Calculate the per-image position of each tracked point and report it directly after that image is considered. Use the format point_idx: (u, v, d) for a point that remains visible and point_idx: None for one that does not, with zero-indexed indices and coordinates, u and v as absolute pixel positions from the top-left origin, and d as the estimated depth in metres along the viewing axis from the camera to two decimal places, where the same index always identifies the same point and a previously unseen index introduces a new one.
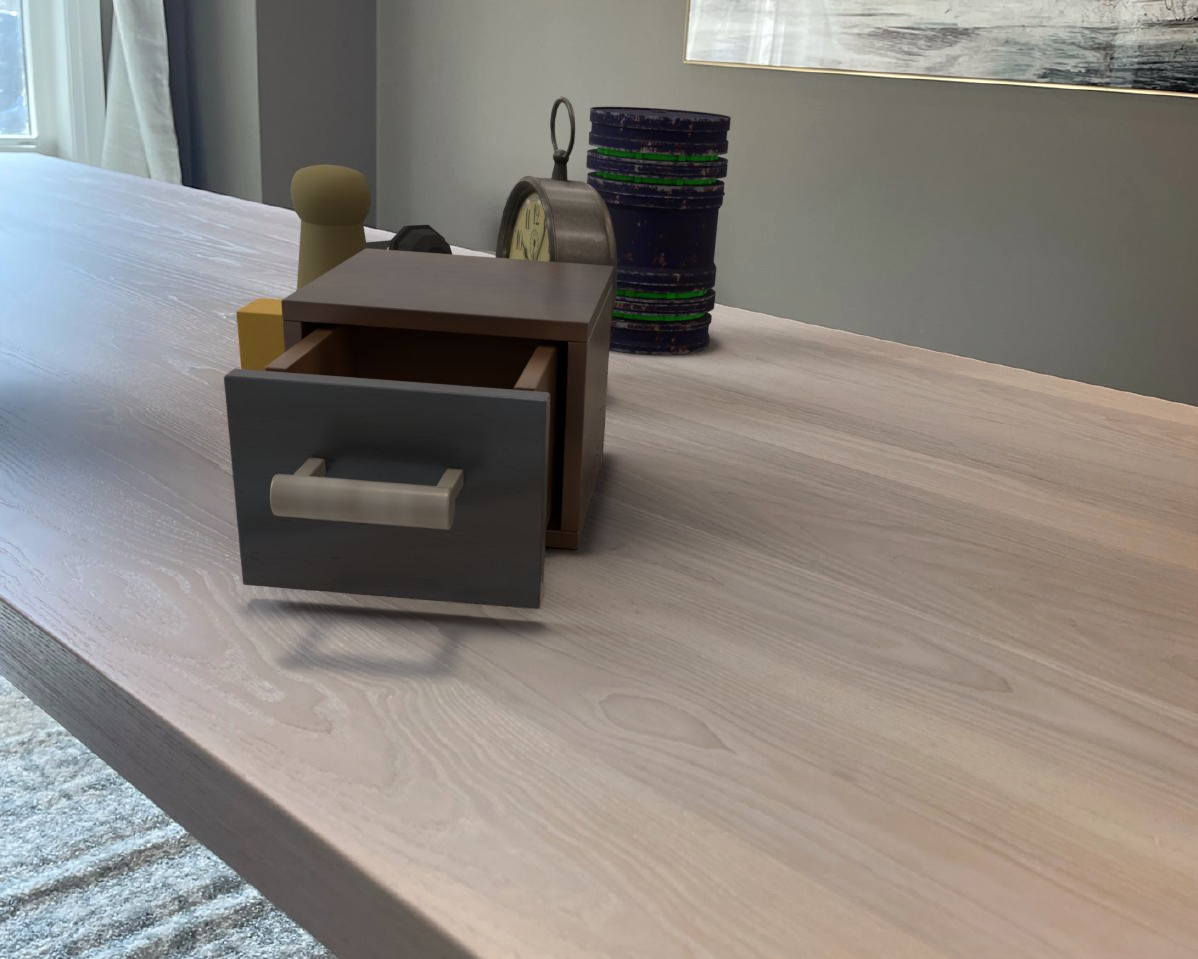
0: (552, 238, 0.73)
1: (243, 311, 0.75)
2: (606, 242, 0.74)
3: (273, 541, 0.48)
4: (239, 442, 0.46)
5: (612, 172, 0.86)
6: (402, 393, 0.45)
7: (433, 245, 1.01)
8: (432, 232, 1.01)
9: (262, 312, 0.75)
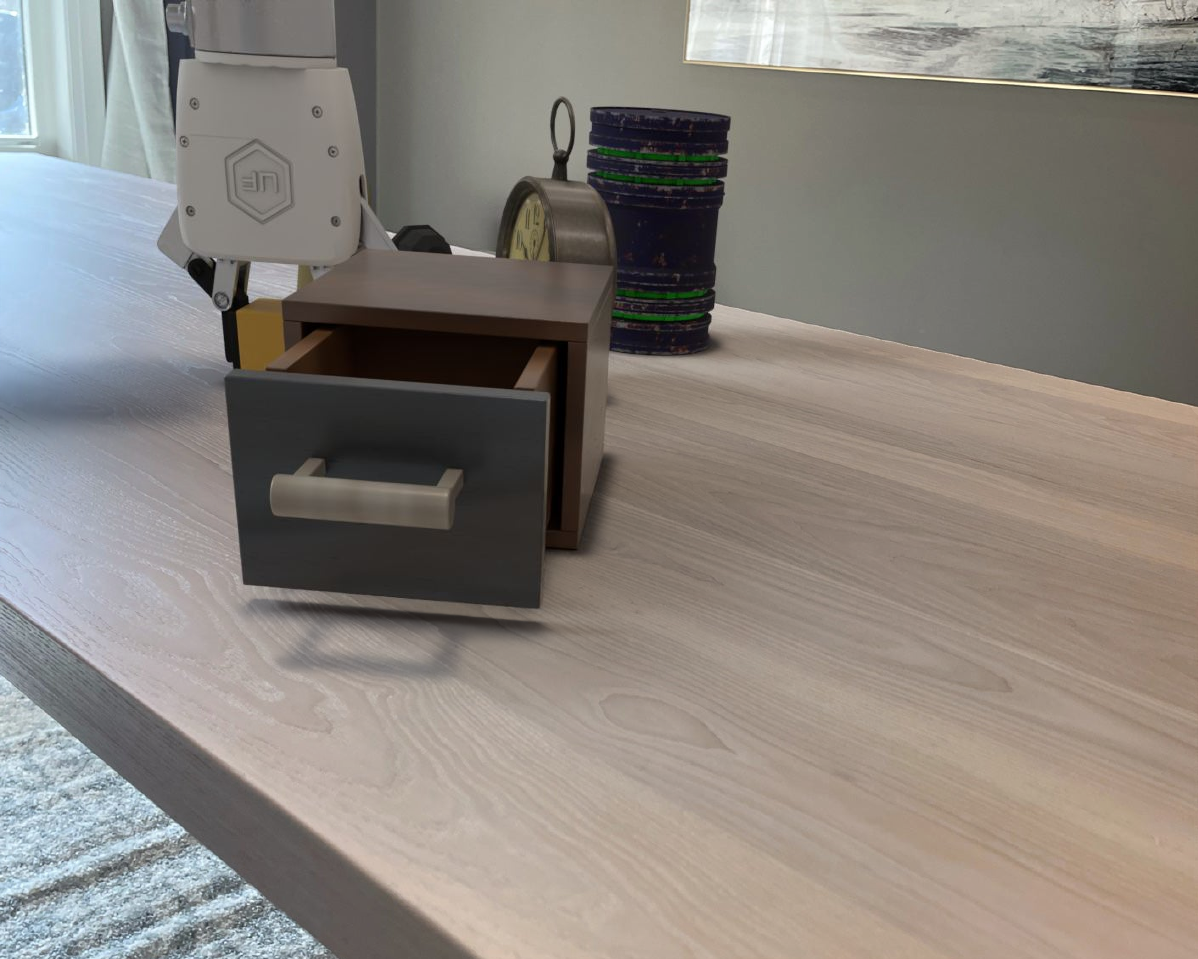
0: (552, 237, 0.73)
1: (243, 311, 0.75)
2: (606, 242, 0.74)
3: (273, 541, 0.48)
4: (239, 442, 0.46)
5: (612, 172, 0.86)
6: (402, 393, 0.45)
7: (433, 245, 1.01)
8: (432, 232, 1.01)
9: (262, 312, 0.75)
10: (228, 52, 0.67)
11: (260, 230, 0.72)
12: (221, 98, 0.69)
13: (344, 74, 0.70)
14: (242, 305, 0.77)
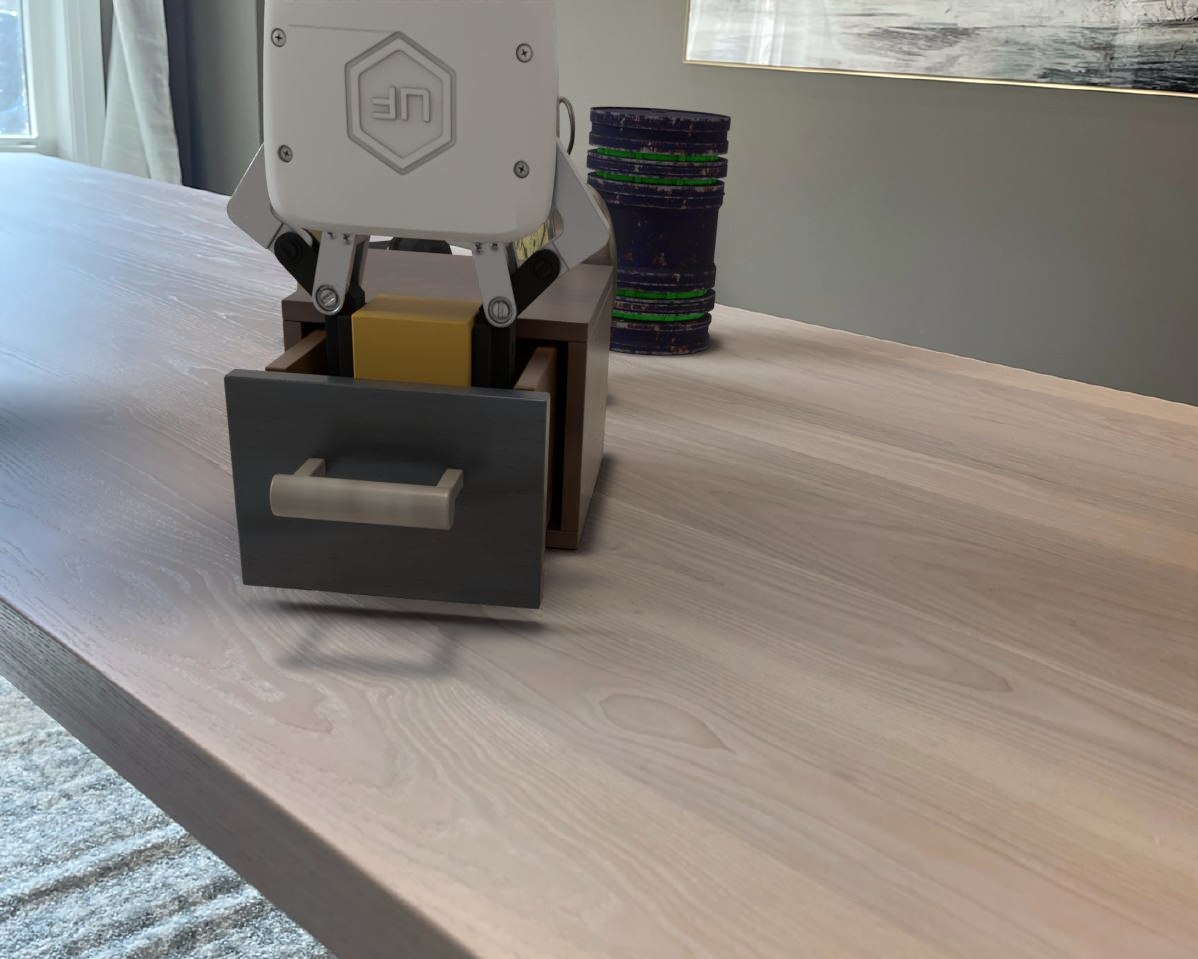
0: (552, 237, 0.73)
1: (363, 315, 0.48)
2: None
3: (273, 541, 0.48)
4: (239, 442, 0.46)
5: (612, 172, 0.86)
6: (402, 393, 0.45)
7: (433, 245, 1.01)
8: None
9: (393, 316, 0.48)
10: None
11: (398, 184, 0.45)
12: None
13: None
14: (357, 306, 0.49)
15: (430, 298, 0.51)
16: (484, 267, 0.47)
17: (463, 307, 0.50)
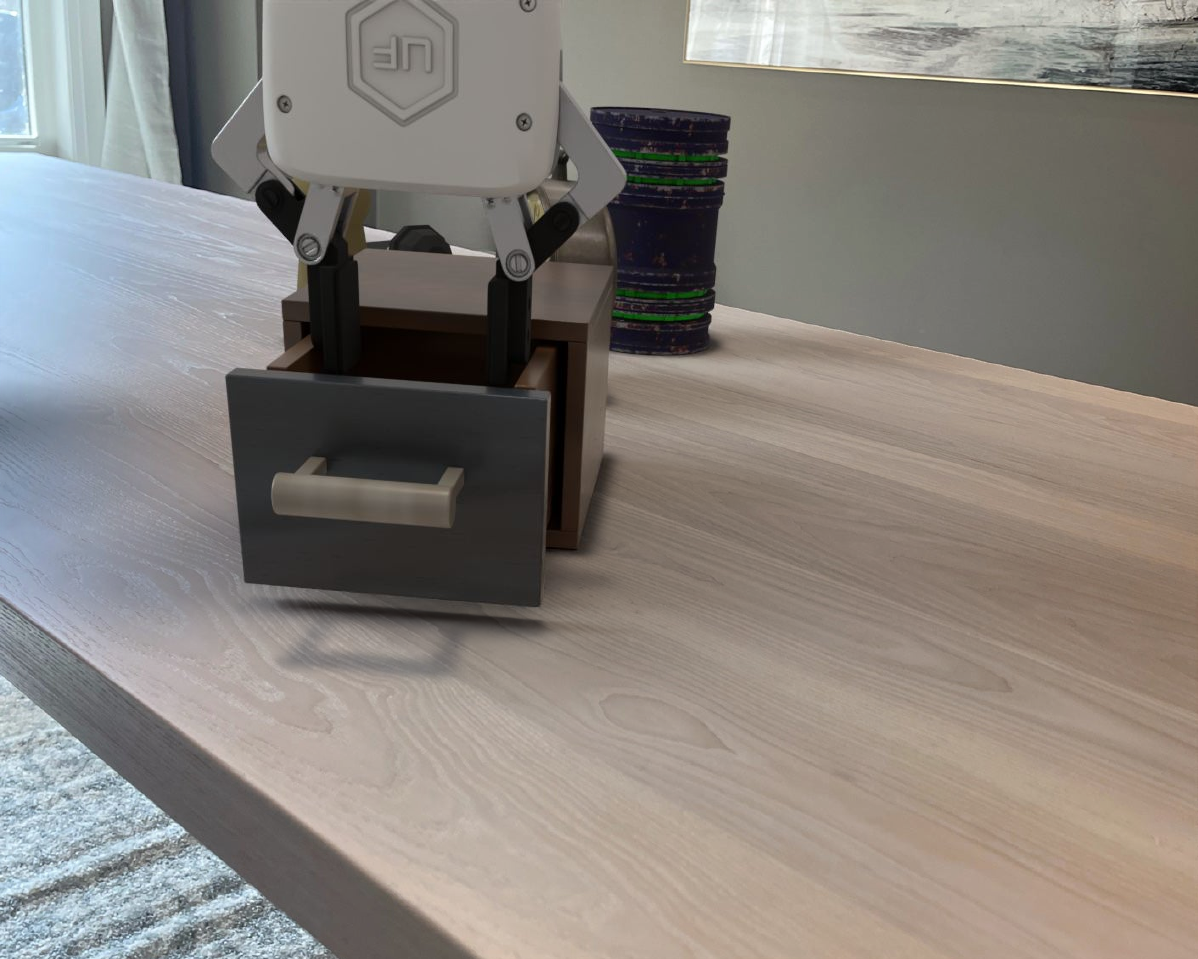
0: None
1: None
2: (606, 242, 0.74)
3: (274, 540, 0.48)
4: (240, 440, 0.46)
5: None
6: (403, 392, 0.45)
7: (433, 245, 1.01)
8: (432, 232, 1.01)
9: None
10: None
11: (398, 137, 0.44)
12: None
13: None
14: (340, 256, 0.49)
15: None
16: (498, 221, 0.47)
17: None
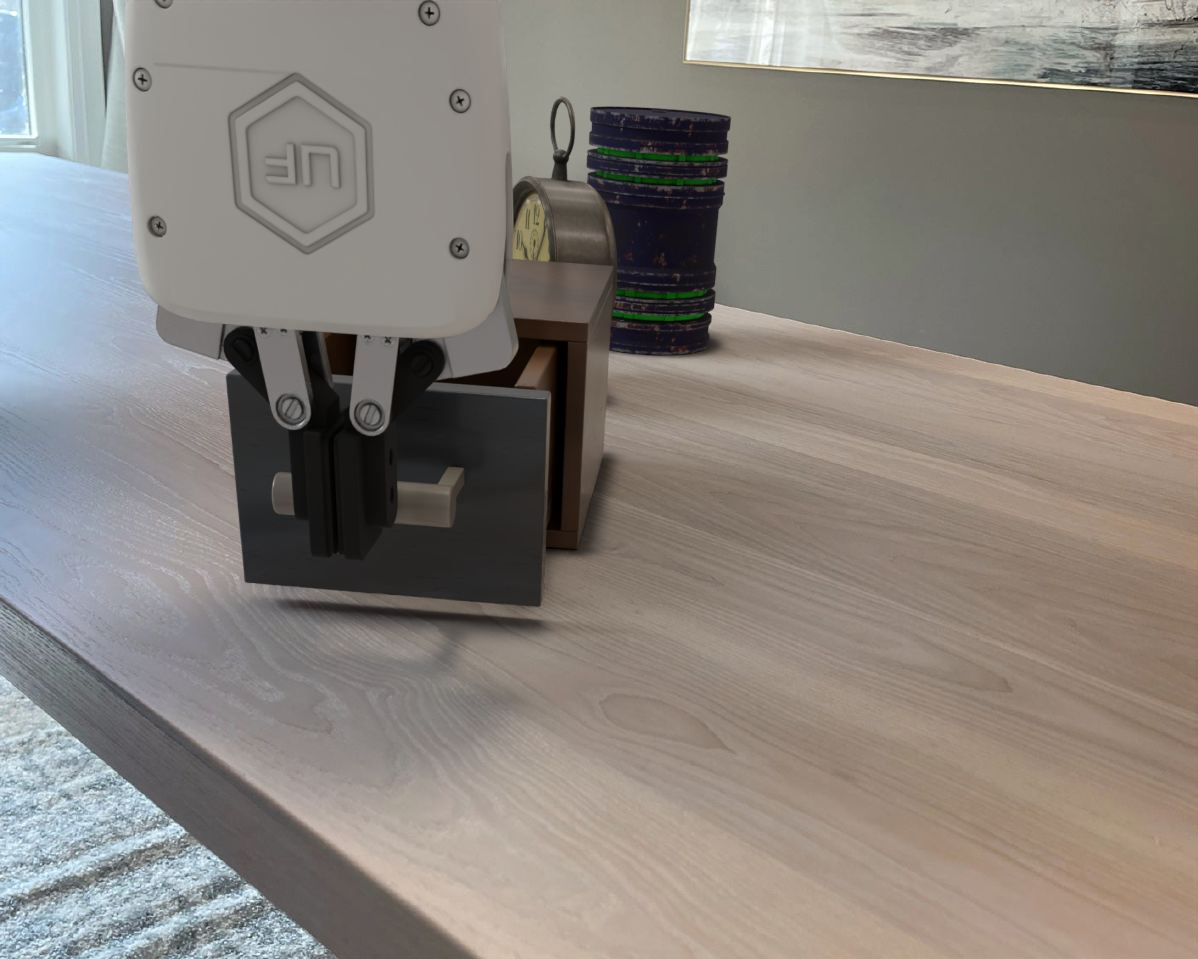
0: (552, 237, 0.73)
1: None
2: (606, 242, 0.74)
3: (275, 539, 0.48)
4: (241, 440, 0.46)
5: (612, 172, 0.86)
6: None
7: None
8: None
9: None
10: None
11: (301, 266, 0.35)
12: None
13: None
14: (329, 416, 0.39)
15: None
16: (366, 360, 0.37)
17: None
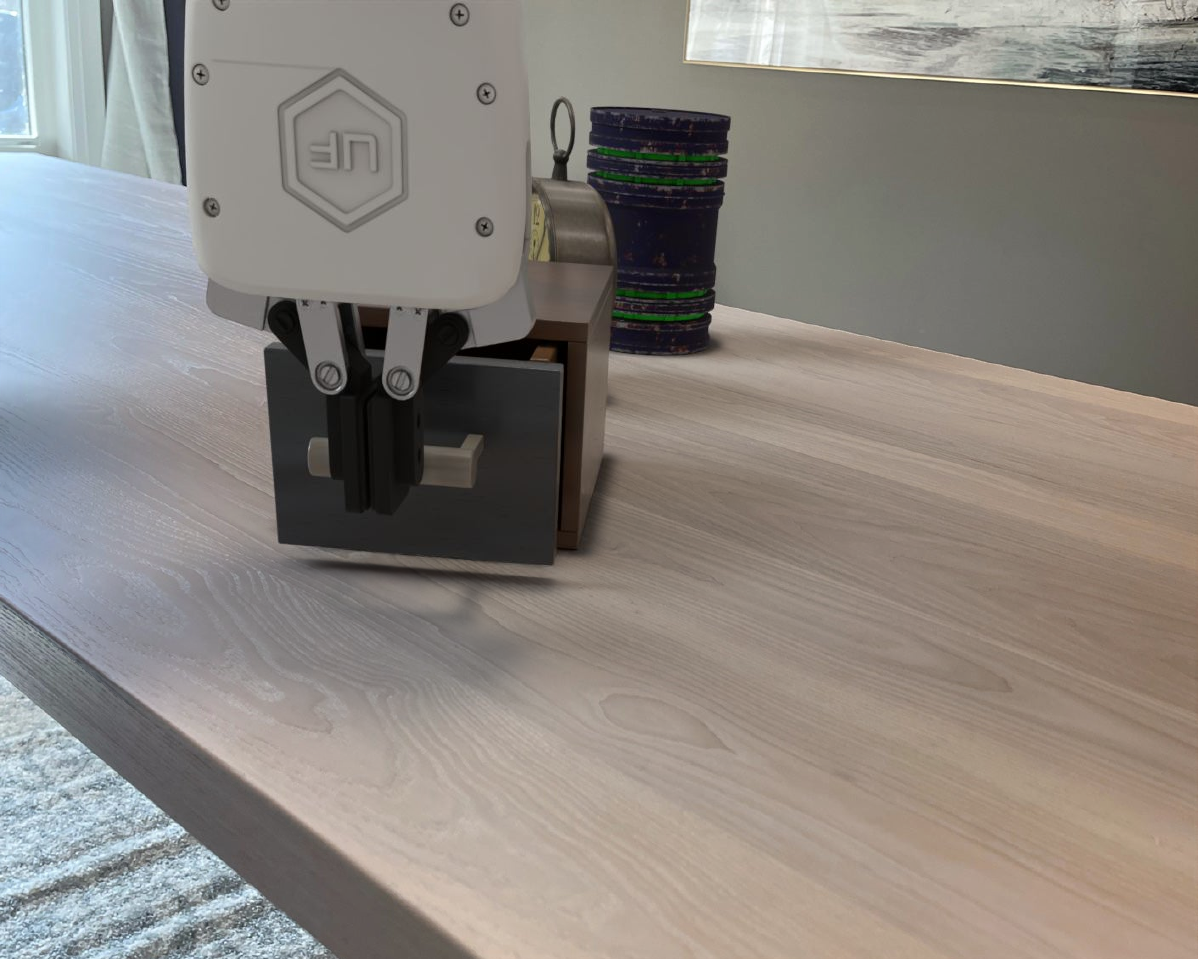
0: (552, 237, 0.73)
1: None
2: (606, 242, 0.74)
3: (307, 502, 0.52)
4: (276, 409, 0.50)
5: (612, 172, 0.86)
6: None
7: None
8: None
9: None
10: None
11: (342, 243, 0.39)
12: None
13: None
14: (363, 383, 0.43)
15: None
16: (398, 330, 0.41)
17: None
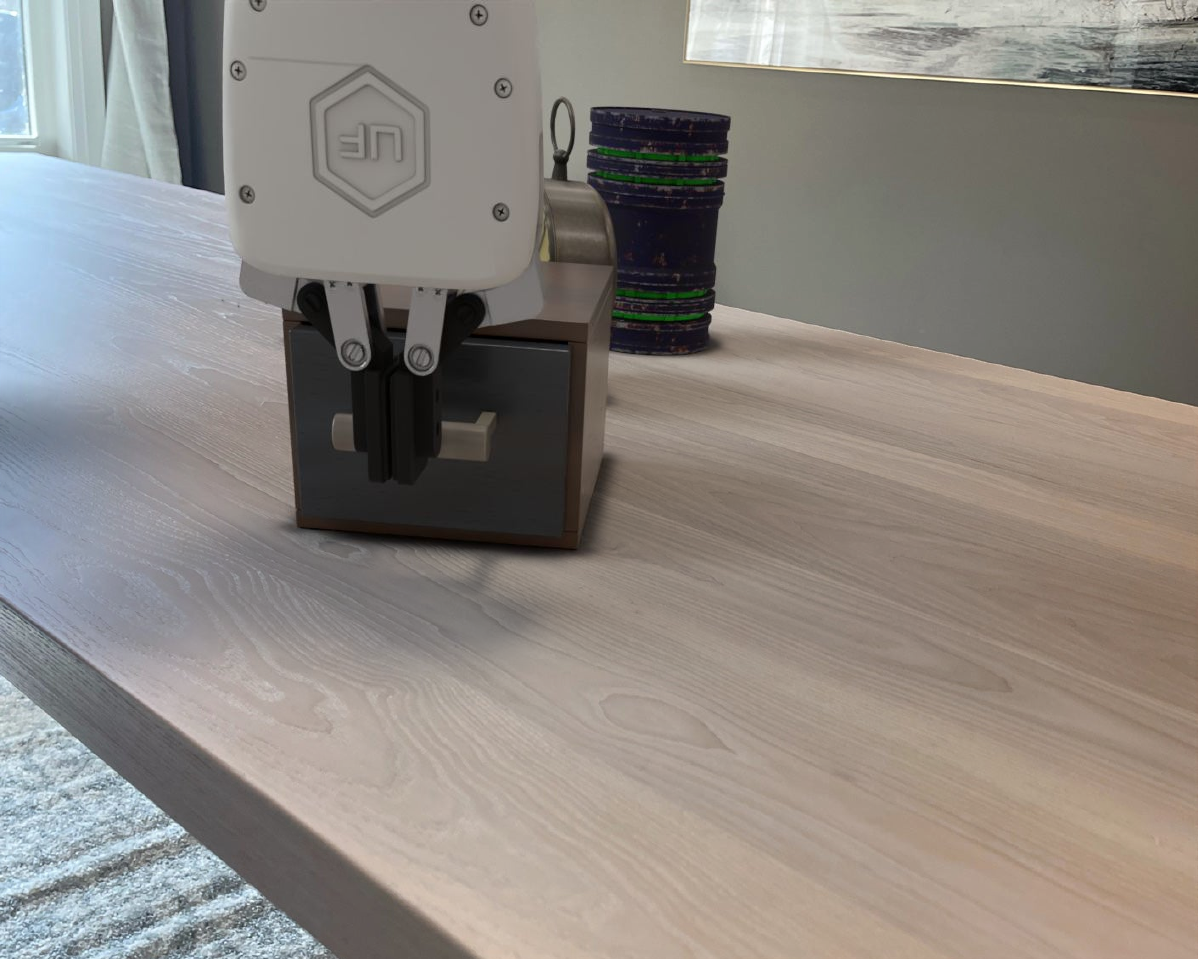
0: (552, 237, 0.73)
1: None
2: (606, 242, 0.74)
3: (329, 477, 0.55)
4: (301, 388, 0.53)
5: (612, 172, 0.86)
6: None
7: None
8: None
9: None
10: None
11: (368, 228, 0.42)
12: None
13: None
14: (385, 360, 0.46)
15: None
16: (419, 310, 0.44)
17: None
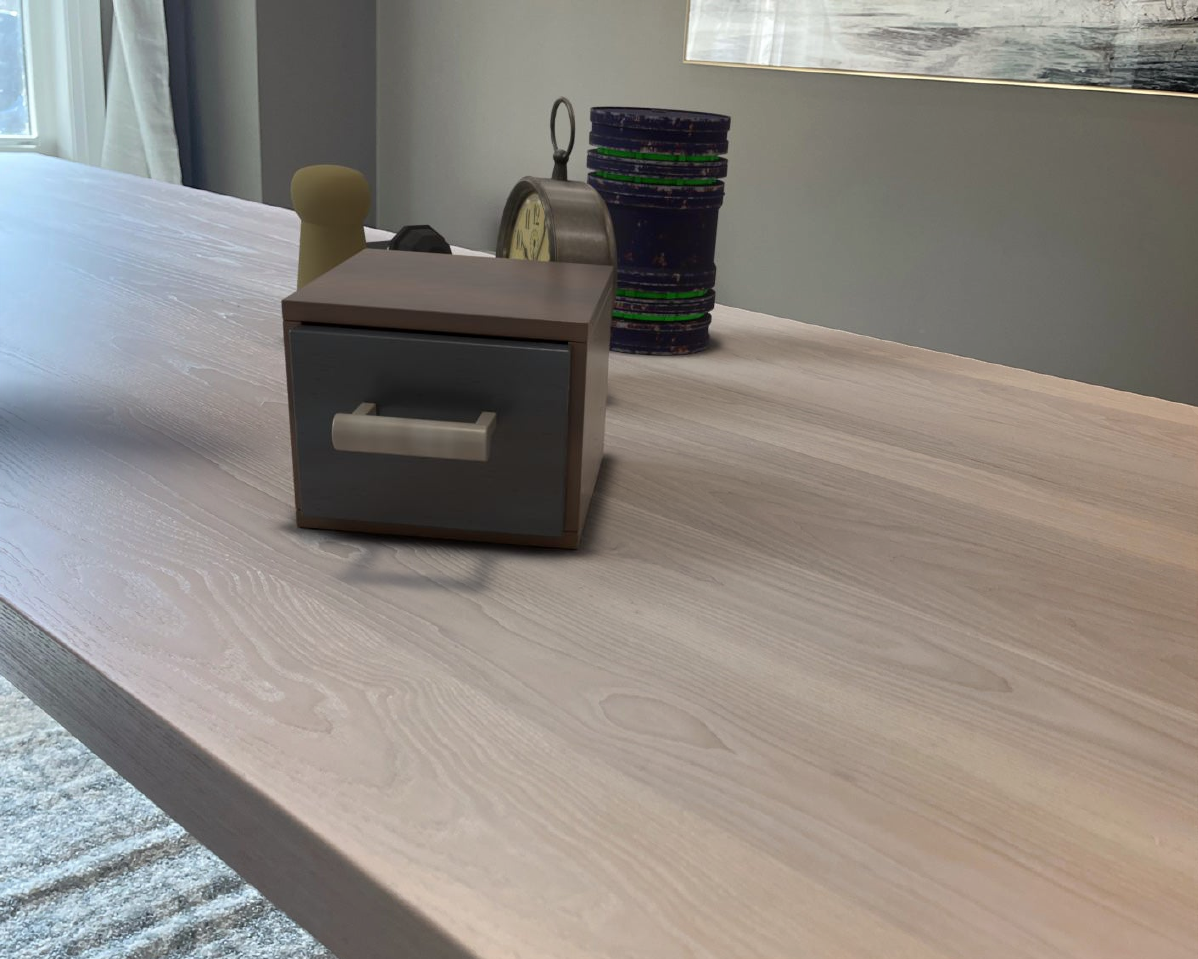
0: (552, 237, 0.73)
1: None
2: (606, 242, 0.74)
3: (329, 477, 0.55)
4: (301, 388, 0.53)
5: (612, 172, 0.86)
6: (444, 345, 0.52)
7: (433, 245, 1.01)
8: (432, 232, 1.01)
9: None
10: None
11: None
12: None
13: None
14: None
15: None
16: None
17: None
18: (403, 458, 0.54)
